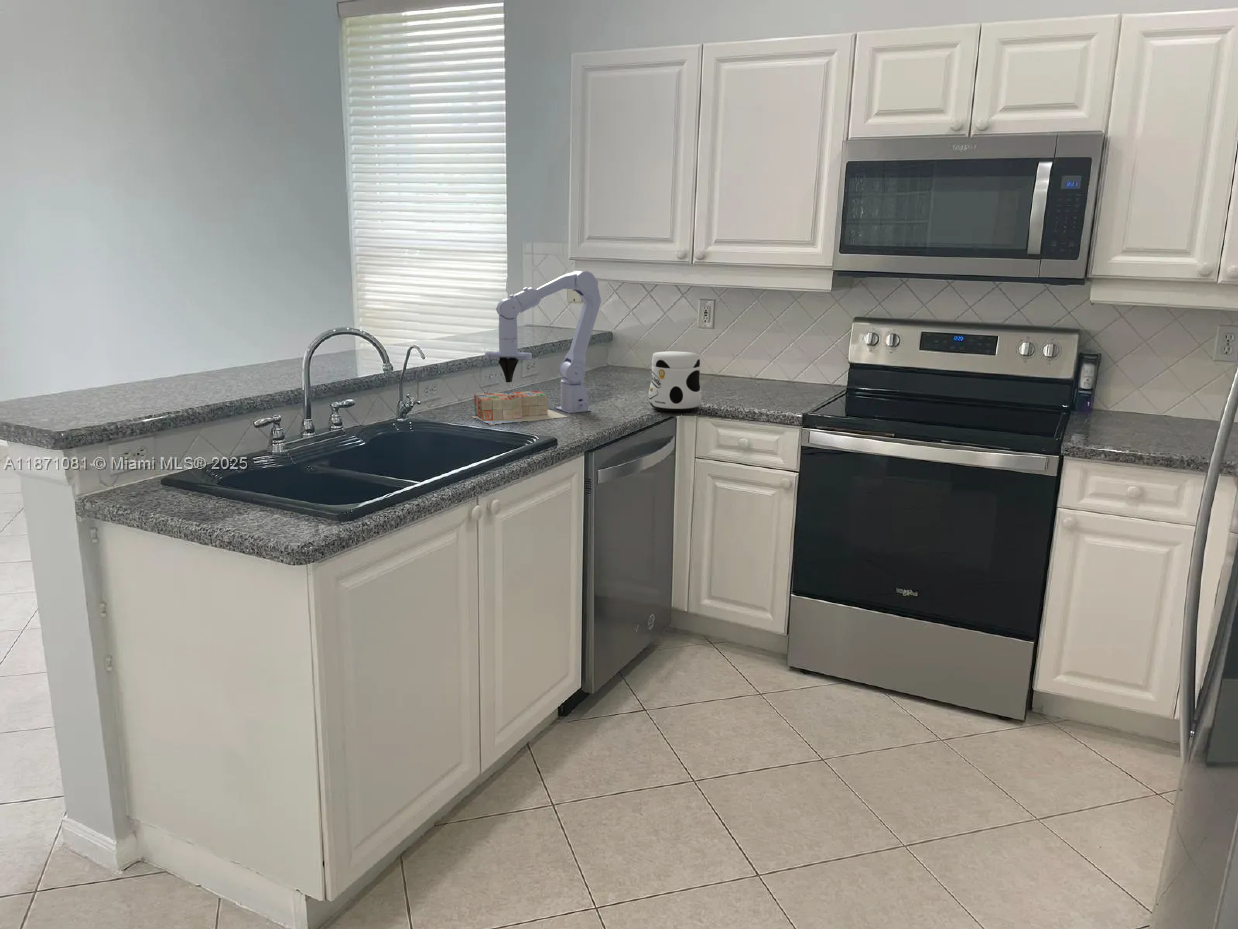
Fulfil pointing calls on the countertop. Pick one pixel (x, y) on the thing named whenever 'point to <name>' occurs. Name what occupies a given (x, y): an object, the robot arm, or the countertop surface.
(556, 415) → the mat
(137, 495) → the countertop surface
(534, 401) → the stack of blocks
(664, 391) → the milk container
